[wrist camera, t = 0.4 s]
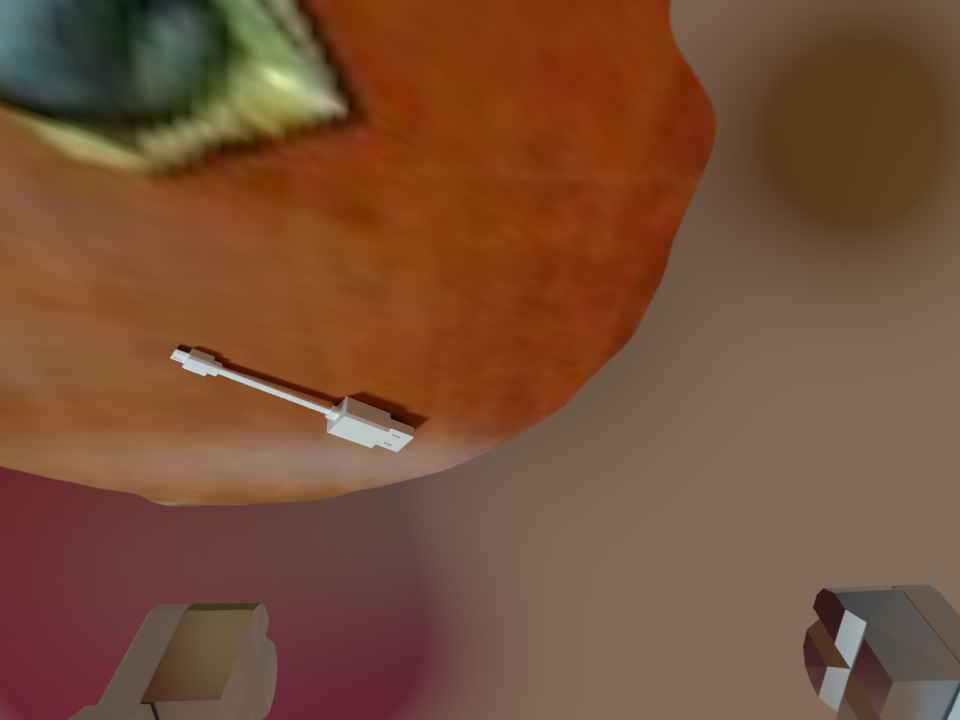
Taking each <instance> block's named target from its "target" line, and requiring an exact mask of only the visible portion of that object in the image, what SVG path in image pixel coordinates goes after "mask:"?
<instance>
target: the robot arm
mask: <svg viewBox="0 0 960 720" xmlns="http://www.w3.org/2000/svg"><path fill="white" fill-rule="evenodd" d="M813 608H814V610H815V611H816V613H817V615H818V617H819V620H818V621H817V622H815V623H814V624H813V625H812V626H810V627H809V628H808V629H807V631H806V636H805V640H804V645H803V651H804V660H805V667H806V670H807V673H808V676H809V679H810V682H811V684H812V686H813V688H814V690H815V692H816V694H817V696H818V697H819V698H820V699H821V700H823V701H824V702H825V703H826V704H828V705H829V706H830V707H832V708H833V709H834V710H836V711H837V714H836V719H835V720H960V616H959V615H958V613H957V612H956V611H955V610H954V609H953V608H952V606H951V605H950V604H949V603H948V602H947V600H946V599H945V598H944V597H943V596H942V595H941V593H940V592H939V591H937V590H936V589H934V588H933V587H931V586H930V585H901V586H891V587H889V586H872V587H871V586H869V587H842V588H823V589H822V590H821V591H820V592H819V593H818V594H817V596H816V599H815V602H814V606H813ZM268 624H269V618H268V615H267V611H266V608H265V605H263V604H260V603H257V604H256V603H255V604H254V603H252V604H251V603H250V604H249V603H248V604H247V603H243V604H242V603H241V604H240V603H239V604H237V603H235V604H233V603H232V604H230V603H229V604H226V603H224V604H223V603H220V604H218V603H217V604H214V603H213V604H211V603H209V604H205V603H203V604H201V603H196V604H195V603H193V604H158V605H157V606H156V607H155V608H154V609H152V610H151V611H150V612H149V613H148V615H147V617H146V619H145V621H144V623H143V624H142V626H141V628H140V629H139V631H138V633H137V635H136V637H135V638H134V640H133V642H132V644H131V646H130V647H129V649H128V651H127V653H126V655H125V656H124V658H123V660H122V662H121V663H120V665H119V667H118V669H117V671H116V673H115V674H114V676H113V678H112V680H111V681H110V683H109V685H108V687H107V689H106V690H105V692H104V694H103V696H102V698H101V699H100V701H99V703H98V705H90V706H85V707H84V708H83V709H81V710H80V711H79V712H77V713H76V714H75V715H73V716H72V717H71V718H70V719H68V720H262V719H263V718H264V717H265V716H266V715H267V714H268V713H269V711H270V708H271V704H272V700H273V697H274V693H275V685H276V678H277V655H276V650H275V645H274V643H273V642H272V641H270V640H269V639H268V638H267V637H266V636H265V633H266V630H267V627H268Z"/></svg>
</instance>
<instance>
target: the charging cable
mask: <svg viewBox="0 0 960 720" xmlns="http://www.w3.org/2000/svg"><path fill="white" fill-rule="evenodd" d="M214 358H215V357H214V356H212V355H209V354H206V353H204V352H201V351H198V350H196V349H193V348H192V349H191V351H190V352H189V353H187V352H184V351H181V350H179V349H175V351H174V352H173V354H172V356H171V359H174V360H176V361H179V362H182V363H183V365H182V368H184V369H187V370H190V371H192V372H195V373H198V374H200V375H203V376H205V375H206V374H207V373H208V374H211V375H214V376H216V375H217V374H220V375H223V376H226V377H228V378H231V379H234V380H236V381H239V382H242V383H244V384H247V385H250V386H252V387H255V388H258V389H260V390H263V391H266V392H268V393H271V394H274V395H277V396H279V397H282V398H285V399H287V400H290V401H293V402H295V403H298V404H301V405H303V406H306V407H309V408H311V409H314V410H317V411H319V412H322V413H325V417H326V418H328V423H327V432H328V433H331V434H333V435H336V436H339V437H342V438H345V439H347V440H350V441H353V442H356V443H359V444H361V445H364V446H367V447H370V448H372V447H373V446H374V445H379V446H382V447H385V448H387V449H390V450H393V451H396V452H398V451H399V450H400V449H401V448H402V447H403V446H404V445H406V444H407V443H408V442H409V441H410V440H411V439H413V438H414V428H413V427H411V426H408V425H406V424H403V423H401V422H398V421H395V420H393V419H390V413H388V412H385V411H383V410H380V409H378V408H375V407H373V406H370V405H368V404H365V403H363V402H360V401H357V400H355V399H352V398H350V397H346V398H345V399H344V400H343V401H342V402H341V403H340V404H339V405H338V406H337V407H336V406H334V405H332V406H331V407H330V408H329V407H327V406H324V405H321V404H319V403H316V402H313V401H311V400H308V399H305V398H303V397H300V396H298V395H295V394H292V393H290V392H287V391H284V390H282V389H279V388H276V387H274V386H271V385H269V384H266V383H263V382H261V381H258V380H255V379H253V378H250V377H247V376H245V375H242V374H240V373H237V372H234V371H232V370H229V369H226V368H224V367H222V363H219V362H217V361H214Z"/></svg>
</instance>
